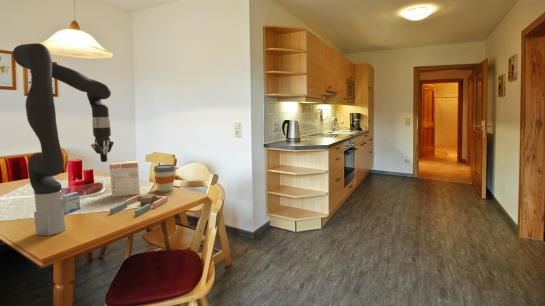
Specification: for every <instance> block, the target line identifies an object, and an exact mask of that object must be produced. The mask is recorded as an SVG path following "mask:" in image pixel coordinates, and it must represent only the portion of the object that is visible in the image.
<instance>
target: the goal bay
mask: <svg viewBox="0 0 545 306" xmlns="http://www.w3.org/2000/svg"><path fill="white" fill-rule="evenodd" d="M143 195H144V194H138V195H133V197H130V198H128V199H126V200H124V201H123V203H124V202H127V205H128V206H130V205H131V204H135V203H136V202H139V201H140V197H142V196H143ZM168 201H169V197H168V196H164V195H163V196H162V195H156V201H155V202H154V203H152V204H151V206H152V208H153V209H156V208H158V207H160V206H161V205H164V204H165V203H167V202H168ZM129 204H130V205H129Z"/></svg>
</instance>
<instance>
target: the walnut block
mask: <svg viewBox="0 0 545 306" xmlns="http://www.w3.org/2000/svg"><path fill="white" fill-rule="evenodd" d="M142 195H143V196H142V197H140V200H139V202H140V203H139V204H140V205H147V204H151V205H152V203H154V202H155V201H156V196H157V194H153V193H152V194H151V193H148V194H147V193H146V194H142Z"/></svg>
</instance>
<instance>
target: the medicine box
mask: <svg viewBox="0 0 545 306" xmlns="http://www.w3.org/2000/svg"><path fill="white" fill-rule="evenodd" d="M62 198H63V208H64V214H70V213H74V212H76V211H78V210H80V209H81V199H80V192H78V191H77V192H75V191H73V192H70V193H69V192H68V193H66V194H62Z"/></svg>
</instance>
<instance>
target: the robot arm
mask: <svg viewBox="0 0 545 306" xmlns="http://www.w3.org/2000/svg"><path fill="white" fill-rule="evenodd" d="M51 54H52V53H51V51H50V49H48V48H47V46H46V45H44V44H42V43H39V42H37V43H34V42H33V43H24V44H20V45H16V47H14V49H13V51H12V57H13V60H14V62H15V63H17V65H19V66H20V67H22V68H24V69H28V70H30V75H31V76H30V77H31V84H30V87H29V89H28V93H27V96H26V99H25V111H26V119H27V122H28V124H29V126H30V127H31V129H32V131H33V132H34V134H35V136H36V137H37V139H38V140H39V144H40V148H41V152H35V153H33V154H32V155H30V156H29V158H28V160H27V161H28V162H27V171H28V177H29V183H30V186H31V187H32V190H33V195H34V201H35V212H34V213H33V218H34V224H35V233H36V235H37V236H47V237H49V236H52V235H56V234H59V233H62V232H64V231H65V230H66V219H65V213H64V208H63V198H62V195H63V190H62V188H63V187H62V184H61V183H60V182H59V181H57V180H56V179H55V178H54V176H58V175H60V174H61V173H62V172H63V169H64V165H65V164H64V163H65V162H64V156H63V153H62V147H61V144H60V137H59V133H58V126H57V125H58V124H57V116H56V107H55V105H56V104H55V97H54V89H53V79H55V80H57V81H59V82H61V83H64V84H66V85H68V86H70V87H72V88H73V89H76V90H78V91H79V92H82V93H86V96H87V97H86V98H87V99H88V102H89V105H90V108H91V115H92V116H91V117H92V120H91V122H92V123H91V125H92V133H93V134H92V135H93V137H94V143H91V145H90V146H91V148H92V149H93V150H94V152H95V154H99V157H100V161H101V163H106V162H108V153H110V152H111V151H112V148H113V146H114V143H115V142H114V141H111V139H110V137H111V136H112V131H111V120H110V113H109V106H108V105H106V104H104V103H103V102H102V100H107V99H109V98H111V95H112V92H111V88H110V87H109V86H108V85H107V84H105V83H103V82H100V81H98V80H95V79H93V78H90V77H88V76H86V75H85V74H82V73H81V72H79V71H77V70H74V69H72V68H70V67H67V66H63V65H60V64H57V63H55V62H53V58H52V55H51Z"/></svg>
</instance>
